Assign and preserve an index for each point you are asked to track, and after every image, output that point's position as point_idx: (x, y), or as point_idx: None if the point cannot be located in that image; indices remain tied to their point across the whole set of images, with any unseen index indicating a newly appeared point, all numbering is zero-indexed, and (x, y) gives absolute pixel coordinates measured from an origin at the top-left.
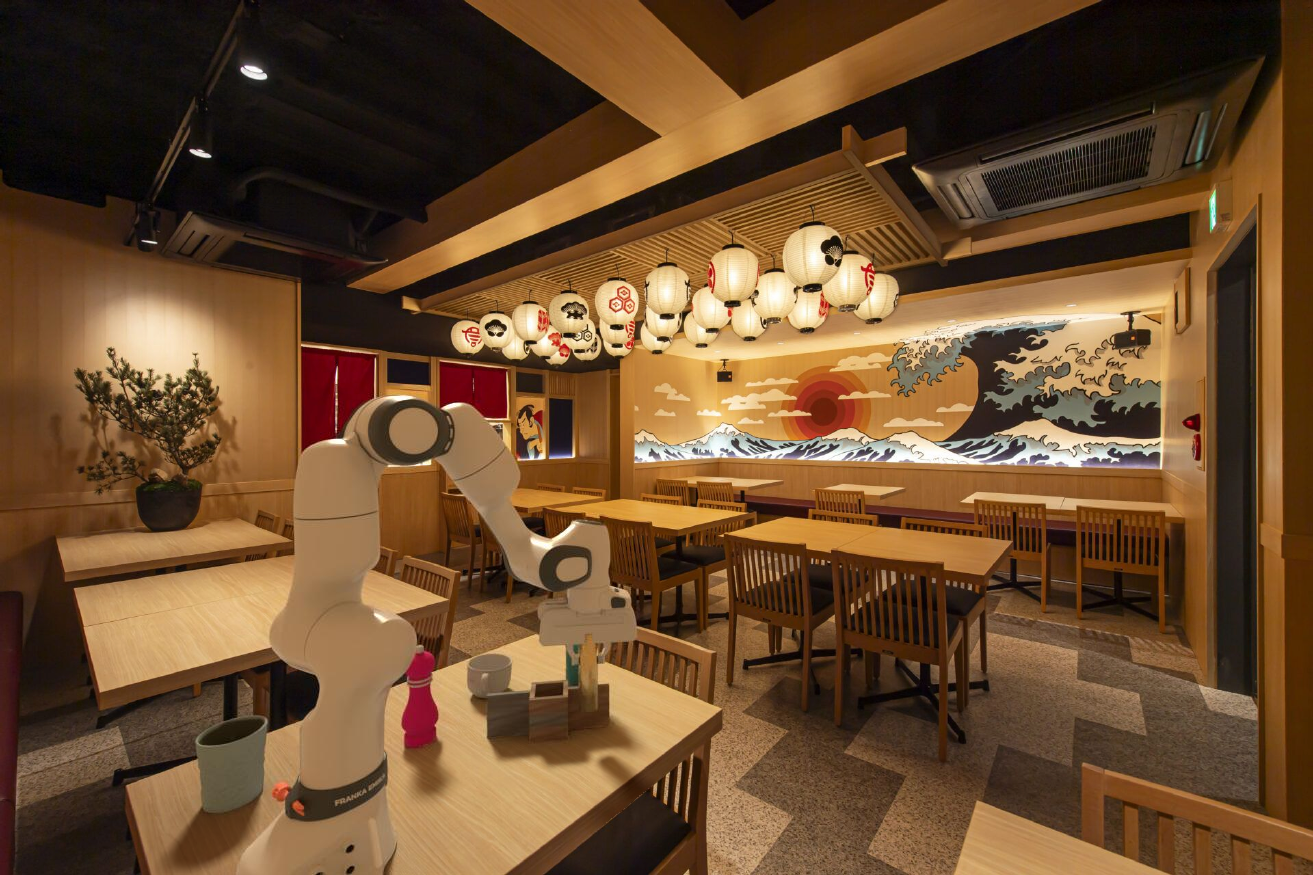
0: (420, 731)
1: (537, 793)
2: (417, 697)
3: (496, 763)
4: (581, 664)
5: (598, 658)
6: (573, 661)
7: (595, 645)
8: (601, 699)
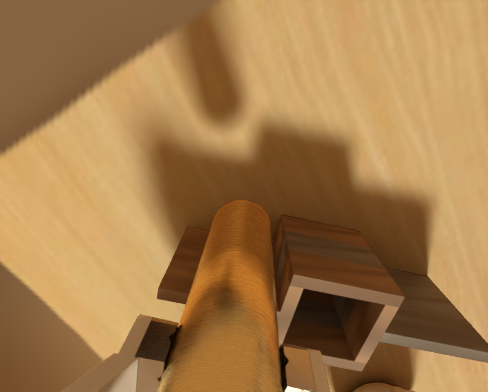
0: None
1: (404, 49)
2: None
3: (442, 191)
4: (273, 335)
5: (167, 346)
6: (316, 367)
7: None
8: (191, 267)
